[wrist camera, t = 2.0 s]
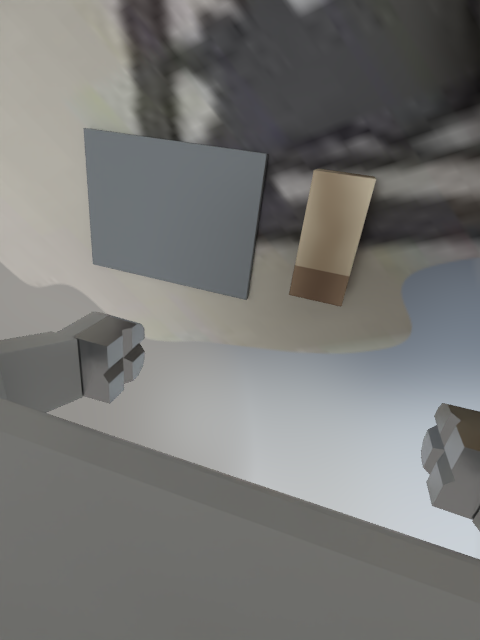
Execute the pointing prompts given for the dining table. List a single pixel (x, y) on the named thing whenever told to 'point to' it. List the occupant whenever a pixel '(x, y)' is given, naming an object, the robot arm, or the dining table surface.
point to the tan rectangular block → (330, 234)
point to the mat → (174, 209)
